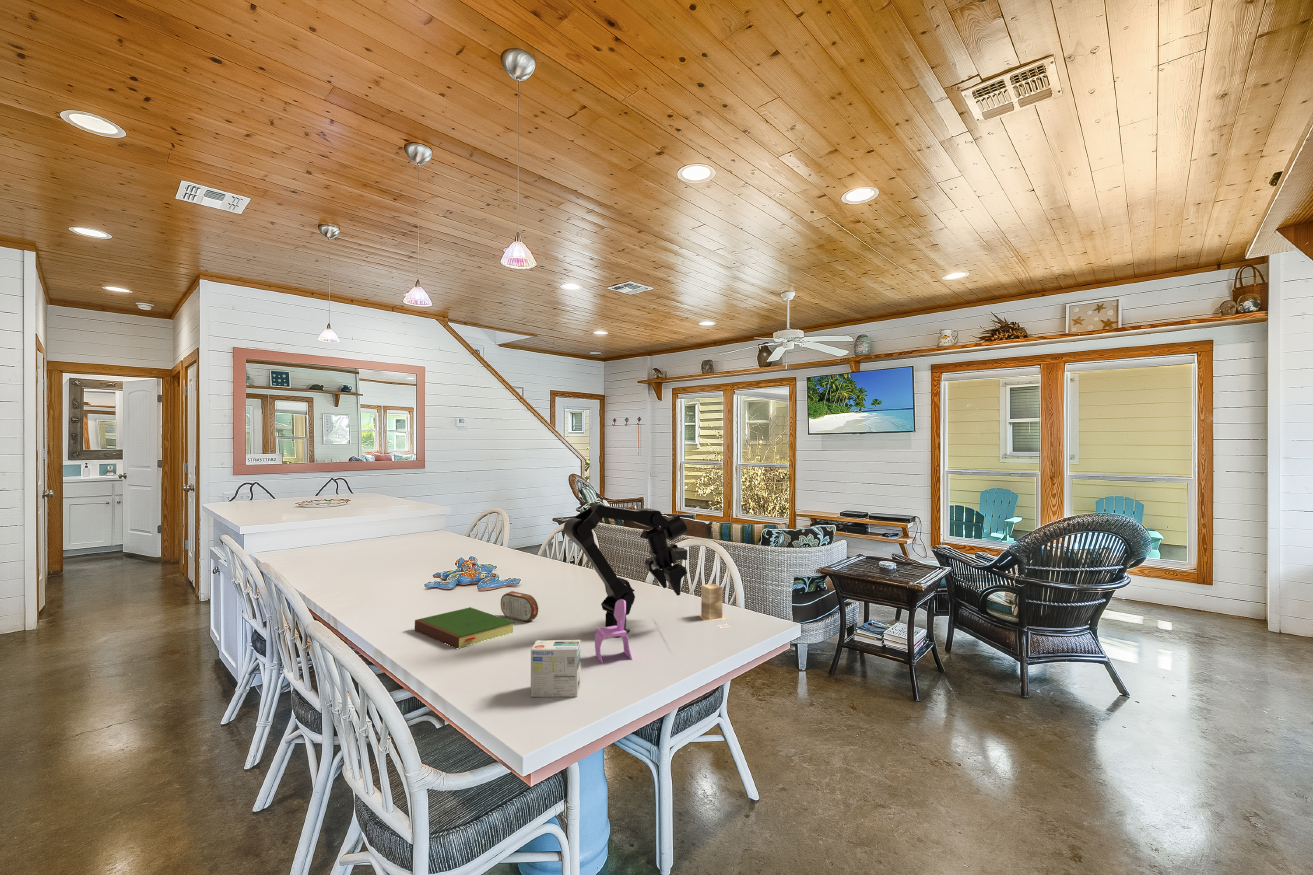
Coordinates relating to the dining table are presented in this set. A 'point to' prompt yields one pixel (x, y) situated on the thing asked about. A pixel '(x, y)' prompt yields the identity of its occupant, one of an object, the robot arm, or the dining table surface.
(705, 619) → the slate board
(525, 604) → the tin
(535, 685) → the light bulb box
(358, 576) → the dining table surface
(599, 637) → the toy chair
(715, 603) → the maple block
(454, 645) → the hardcover book
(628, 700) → the dining table surface
